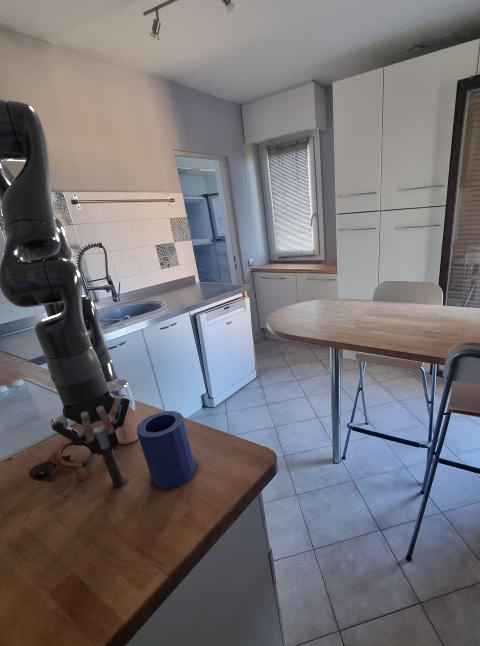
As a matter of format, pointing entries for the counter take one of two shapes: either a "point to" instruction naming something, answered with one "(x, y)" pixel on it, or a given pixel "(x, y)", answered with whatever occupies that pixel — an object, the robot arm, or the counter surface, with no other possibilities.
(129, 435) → the beer glass
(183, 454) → the vase
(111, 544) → the counter surface
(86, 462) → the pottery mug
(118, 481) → the marker
